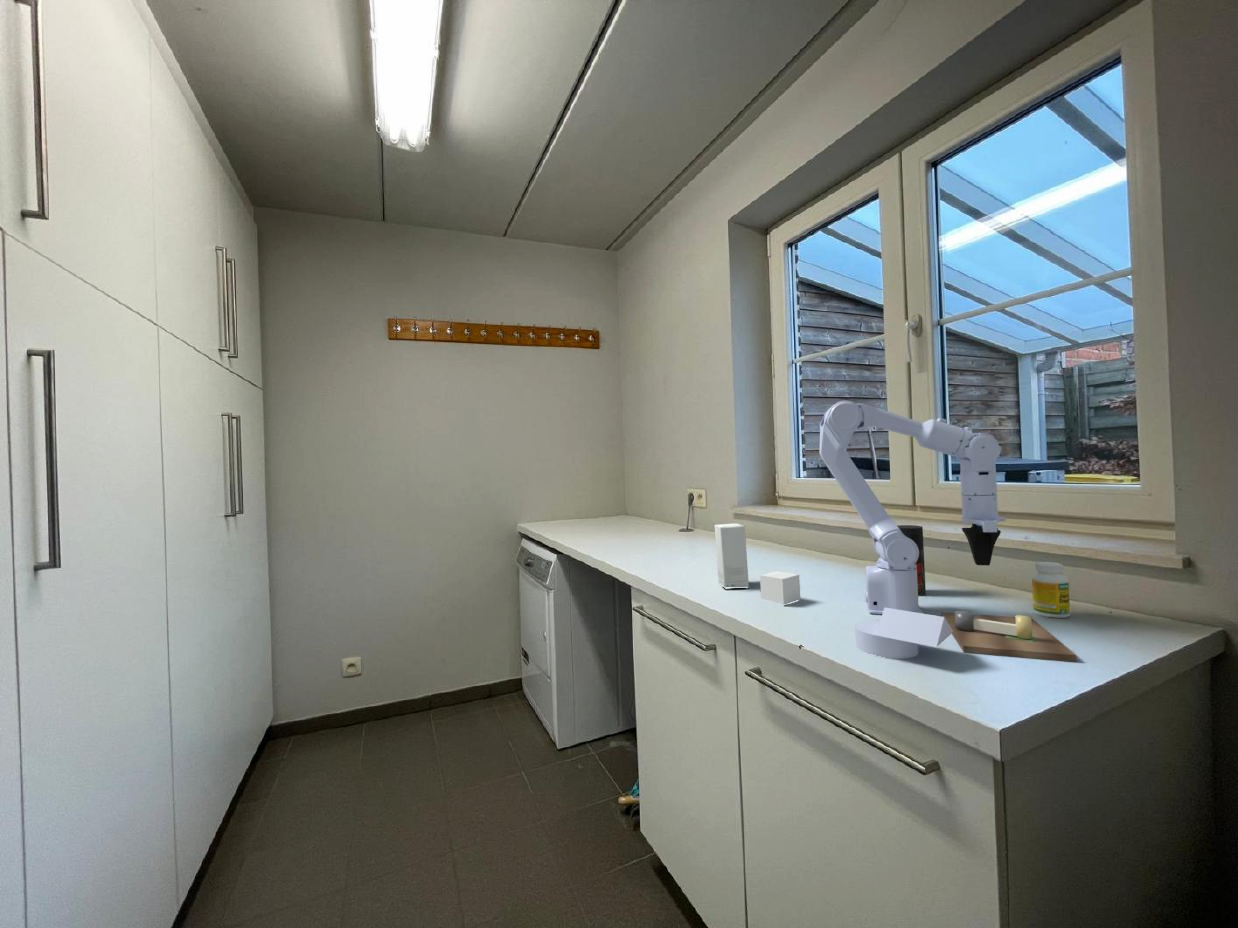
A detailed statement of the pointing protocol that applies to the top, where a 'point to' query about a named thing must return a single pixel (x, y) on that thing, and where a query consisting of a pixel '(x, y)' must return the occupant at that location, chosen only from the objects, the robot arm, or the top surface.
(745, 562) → the skincare box
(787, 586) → the white cube
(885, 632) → the wedge on round base
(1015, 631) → the yellow capsule-ended device
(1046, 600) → the supplement bottle
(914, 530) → the deodorant
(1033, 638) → the dial board
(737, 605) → the top surface
